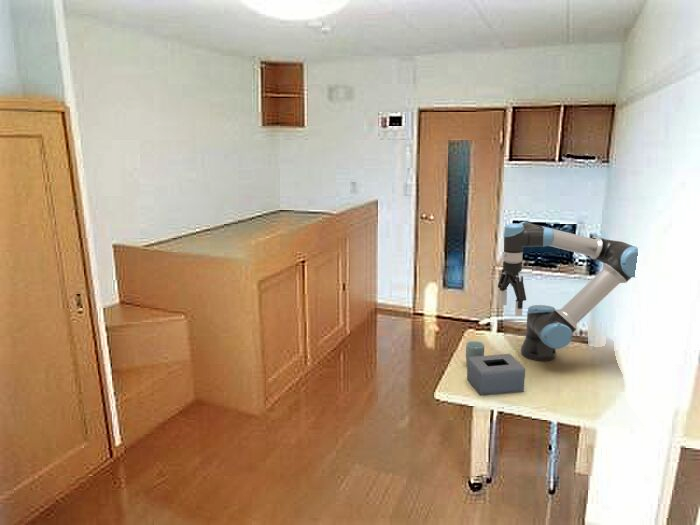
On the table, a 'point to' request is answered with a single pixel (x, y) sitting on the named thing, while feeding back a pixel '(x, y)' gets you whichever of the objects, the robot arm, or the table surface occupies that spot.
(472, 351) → the cup
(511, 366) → the coin box
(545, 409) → the table surface
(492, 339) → the table surface
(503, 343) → the table surface
